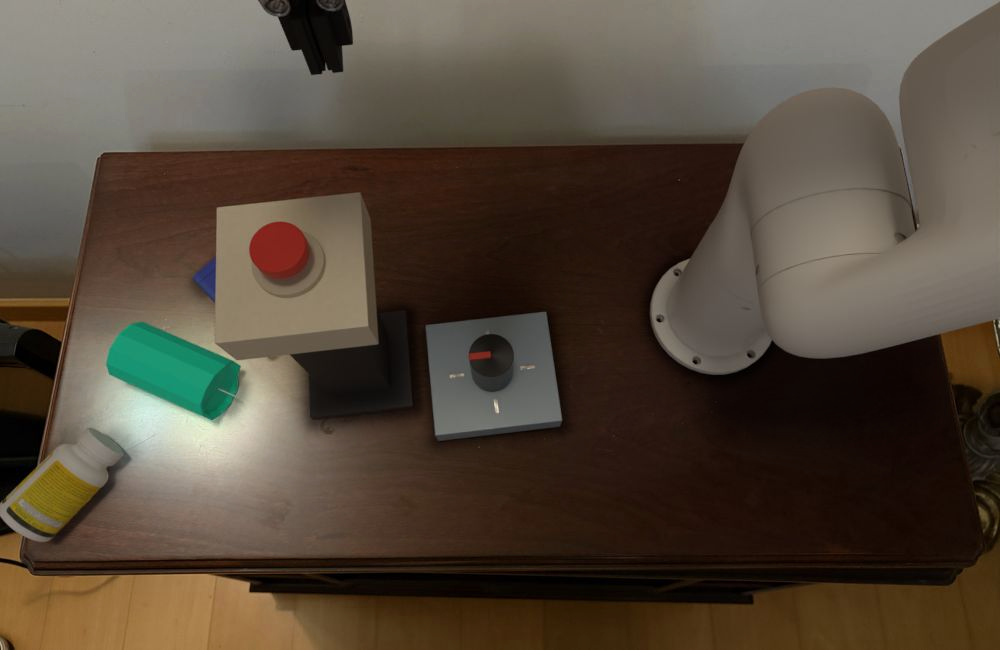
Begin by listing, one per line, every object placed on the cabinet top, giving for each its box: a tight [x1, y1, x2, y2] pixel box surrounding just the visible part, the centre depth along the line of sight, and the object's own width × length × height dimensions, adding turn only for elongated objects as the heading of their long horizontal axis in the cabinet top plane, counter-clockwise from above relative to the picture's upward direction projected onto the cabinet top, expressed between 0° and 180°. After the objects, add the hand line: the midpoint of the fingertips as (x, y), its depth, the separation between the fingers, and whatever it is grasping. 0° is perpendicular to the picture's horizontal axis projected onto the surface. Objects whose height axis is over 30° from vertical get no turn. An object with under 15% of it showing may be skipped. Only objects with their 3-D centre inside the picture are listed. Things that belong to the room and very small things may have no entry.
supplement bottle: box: [0, 427, 124, 543], centre depth 65 cm, size 5×5×10 cm
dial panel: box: [424, 311, 563, 442], centre depth 69 cm, size 12×11×3 cm
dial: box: [469, 334, 514, 392], centre depth 65 cm, size 4×4×6 cm
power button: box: [249, 222, 310, 279], centre depth 45 cm, size 4×4×1 cm
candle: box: [105, 321, 242, 421], centre depth 68 cm, size 6×6×12 cm
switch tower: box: [214, 191, 415, 421], centre depth 59 cm, size 10×10×26 cm
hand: (326, 50), depth 36 cm, fingers closed
